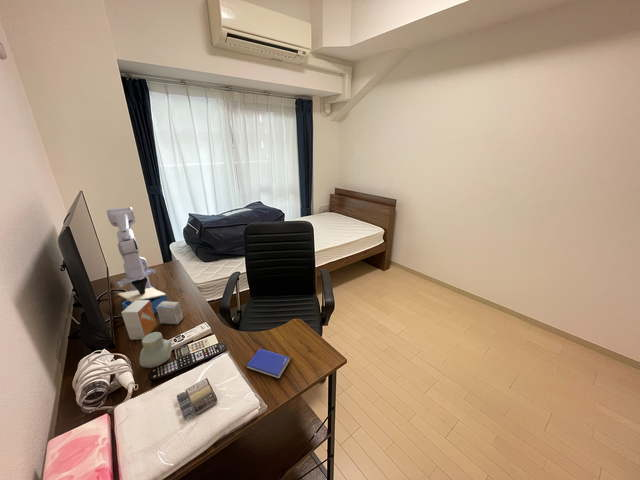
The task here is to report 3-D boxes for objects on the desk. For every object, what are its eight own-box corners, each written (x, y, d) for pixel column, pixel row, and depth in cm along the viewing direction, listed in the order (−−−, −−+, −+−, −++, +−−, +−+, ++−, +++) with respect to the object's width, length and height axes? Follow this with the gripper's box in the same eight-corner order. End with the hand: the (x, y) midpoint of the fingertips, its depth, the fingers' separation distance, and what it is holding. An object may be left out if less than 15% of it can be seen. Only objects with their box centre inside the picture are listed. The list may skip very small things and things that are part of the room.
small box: (146, 339, 99) (137, 312, 95) (129, 339, 99) (120, 312, 95) (157, 325, 107) (150, 299, 102) (142, 326, 107) (134, 300, 102)
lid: (131, 302, 105) (131, 300, 105) (117, 294, 111) (117, 293, 111) (166, 295, 118) (166, 294, 118) (152, 288, 123) (152, 287, 123)
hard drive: (289, 356, 89) (259, 347, 93) (278, 375, 82) (246, 364, 86) (290, 360, 90) (260, 351, 94) (278, 379, 83) (247, 368, 87)
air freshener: (168, 367, 87) (162, 345, 83) (140, 375, 84) (132, 352, 81) (173, 345, 96) (167, 324, 93) (148, 351, 94) (141, 330, 90)
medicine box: (183, 318, 111) (179, 301, 108) (177, 324, 107) (173, 308, 104) (167, 317, 112) (162, 300, 109) (160, 323, 108) (155, 307, 105)
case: (138, 322, 109) (134, 311, 107) (124, 313, 114) (121, 303, 112) (168, 305, 120) (166, 295, 118) (155, 298, 126) (152, 288, 123)
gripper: (119, 276, 101) (129, 304, 106) (156, 262, 113) (163, 288, 118) (111, 271, 105) (120, 299, 110) (148, 258, 116) (155, 284, 121)
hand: (142, 293), depth 114 cm, fingers closed
